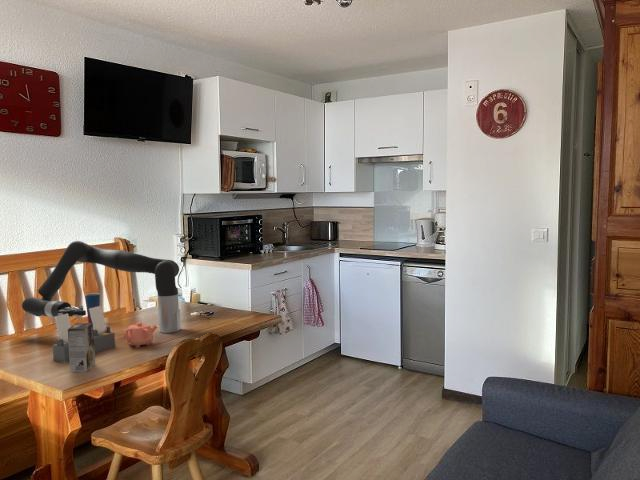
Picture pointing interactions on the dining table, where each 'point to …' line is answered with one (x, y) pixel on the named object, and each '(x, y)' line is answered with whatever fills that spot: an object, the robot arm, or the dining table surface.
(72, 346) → the coffee box
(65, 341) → the rocker
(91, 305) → the cup
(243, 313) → the dining table surface
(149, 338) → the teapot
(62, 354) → the grey block structure
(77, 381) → the dining table surface
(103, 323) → the rocker
